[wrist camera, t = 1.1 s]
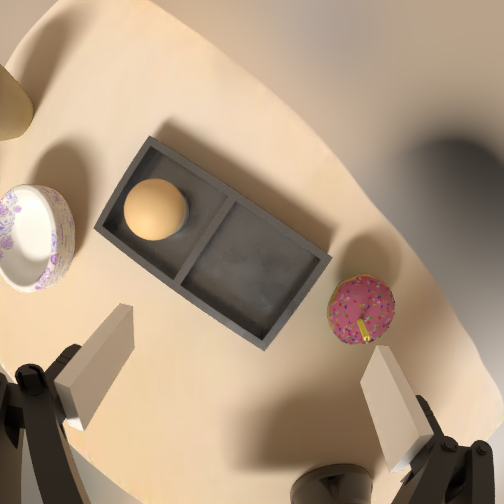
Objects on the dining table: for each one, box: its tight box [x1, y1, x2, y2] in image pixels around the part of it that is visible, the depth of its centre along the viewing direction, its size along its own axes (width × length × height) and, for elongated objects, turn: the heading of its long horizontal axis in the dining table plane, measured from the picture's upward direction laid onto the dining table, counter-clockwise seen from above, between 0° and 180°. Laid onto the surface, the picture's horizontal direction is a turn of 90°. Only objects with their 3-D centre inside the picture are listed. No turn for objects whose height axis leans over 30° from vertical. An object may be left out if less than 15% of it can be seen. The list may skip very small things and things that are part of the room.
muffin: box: [124, 178, 189, 240], centre depth 34 cm, size 7×7×8 cm
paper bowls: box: [0, 184, 76, 293], centre depth 36 cm, size 15×15×8 cm
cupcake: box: [327, 274, 395, 344], centre depth 33 cm, size 9×8×12 cm
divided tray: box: [94, 136, 333, 351], centre depth 37 cm, size 27×14×4 cm, turn 56°
